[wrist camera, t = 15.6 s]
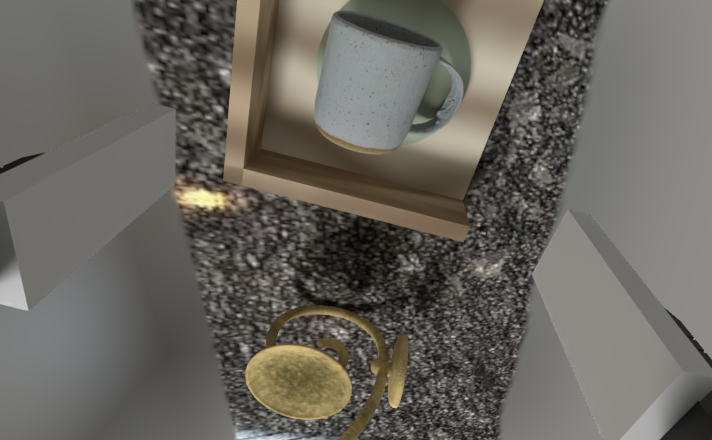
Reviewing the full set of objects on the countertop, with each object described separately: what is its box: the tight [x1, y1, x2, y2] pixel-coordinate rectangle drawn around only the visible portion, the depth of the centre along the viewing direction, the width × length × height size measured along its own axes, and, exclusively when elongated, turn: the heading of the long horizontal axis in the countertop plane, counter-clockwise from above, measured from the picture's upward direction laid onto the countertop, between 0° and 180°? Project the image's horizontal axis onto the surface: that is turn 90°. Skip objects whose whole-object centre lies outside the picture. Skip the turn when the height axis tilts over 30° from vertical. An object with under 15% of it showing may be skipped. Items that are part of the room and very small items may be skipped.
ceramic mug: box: [314, 11, 464, 155], centre depth 30 cm, size 11×8×8 cm
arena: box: [223, 0, 544, 242], centre depth 32 cm, size 20×20×6 cm
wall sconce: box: [246, 305, 408, 440], centre depth 35 cm, size 14×10×25 cm
